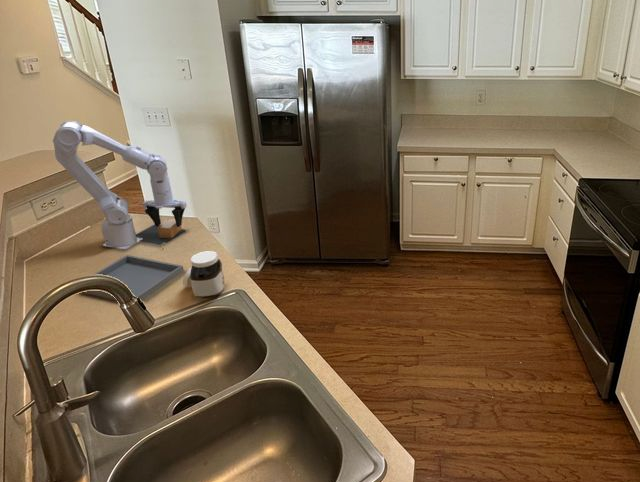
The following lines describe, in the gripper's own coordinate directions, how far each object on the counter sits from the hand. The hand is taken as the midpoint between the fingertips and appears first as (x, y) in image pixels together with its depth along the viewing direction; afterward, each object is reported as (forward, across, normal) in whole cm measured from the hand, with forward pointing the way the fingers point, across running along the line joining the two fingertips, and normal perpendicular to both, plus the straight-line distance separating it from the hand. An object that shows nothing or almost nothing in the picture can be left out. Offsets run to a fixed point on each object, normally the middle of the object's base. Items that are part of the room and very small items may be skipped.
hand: (168, 225), depth 155 cm
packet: (+3, 0, 0) cm, 3 cm away
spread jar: (+4, +27, -33) cm, 43 cm away
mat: (+4, -4, -1) cm, 6 cm away
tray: (+4, +4, -30) cm, 31 cm away
